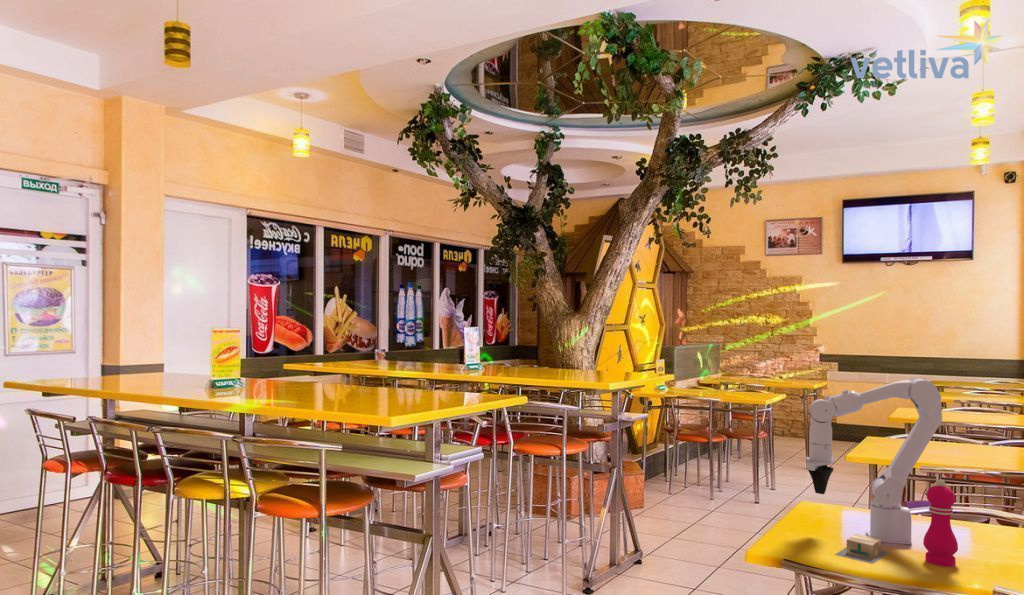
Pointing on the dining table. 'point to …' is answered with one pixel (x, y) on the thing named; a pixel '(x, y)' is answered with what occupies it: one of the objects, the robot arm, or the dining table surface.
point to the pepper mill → (940, 527)
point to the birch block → (864, 546)
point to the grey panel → (861, 558)
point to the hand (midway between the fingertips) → (820, 493)
